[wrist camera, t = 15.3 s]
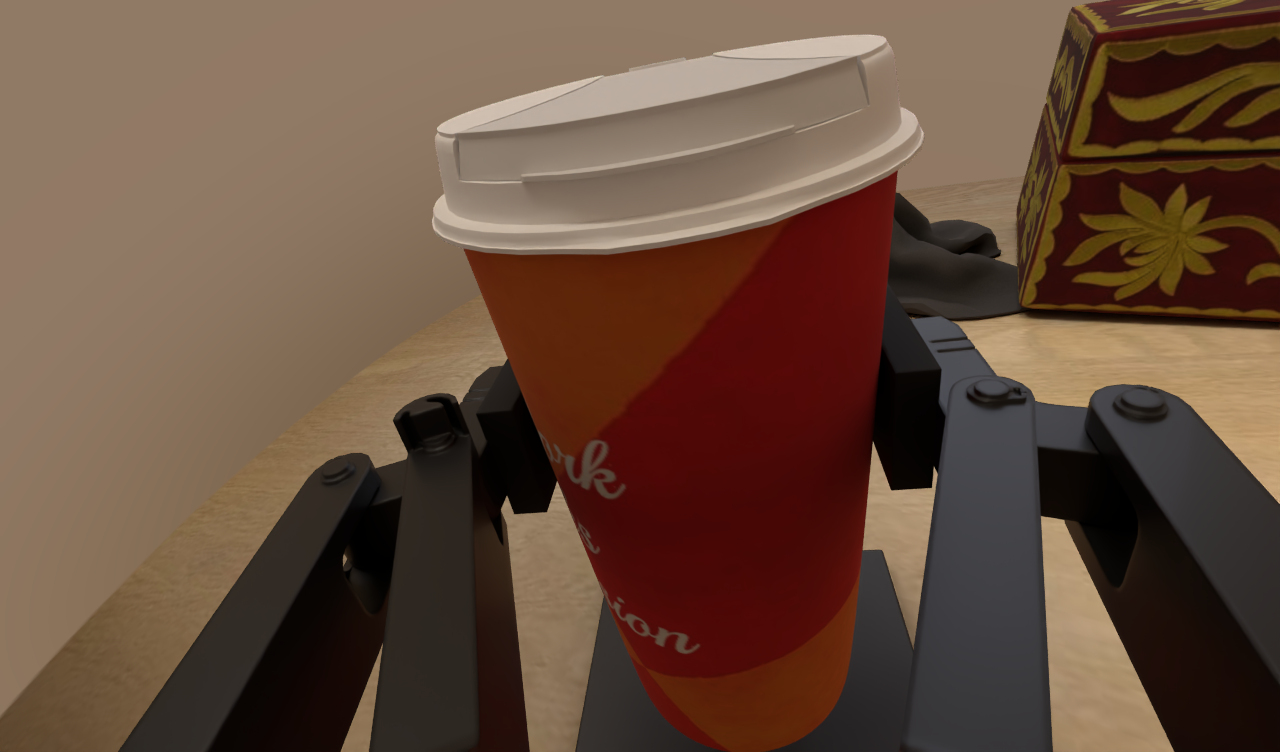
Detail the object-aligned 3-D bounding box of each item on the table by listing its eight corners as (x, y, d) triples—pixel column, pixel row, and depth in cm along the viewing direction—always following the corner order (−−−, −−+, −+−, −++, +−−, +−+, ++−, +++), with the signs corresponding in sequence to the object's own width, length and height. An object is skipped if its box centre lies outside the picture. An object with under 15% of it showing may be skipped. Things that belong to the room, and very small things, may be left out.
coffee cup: (613, 550, 21) (482, 94, 14) (851, 528, 20) (848, 21, 13) (582, 820, 14) (281, 182, 7) (947, 808, 13) (1067, 34, 6)
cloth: (723, 327, 44) (713, 246, 41) (777, 236, 58) (773, 171, 55) (1102, 338, 34) (1126, 233, 31) (1057, 226, 48) (1071, 146, 45)
